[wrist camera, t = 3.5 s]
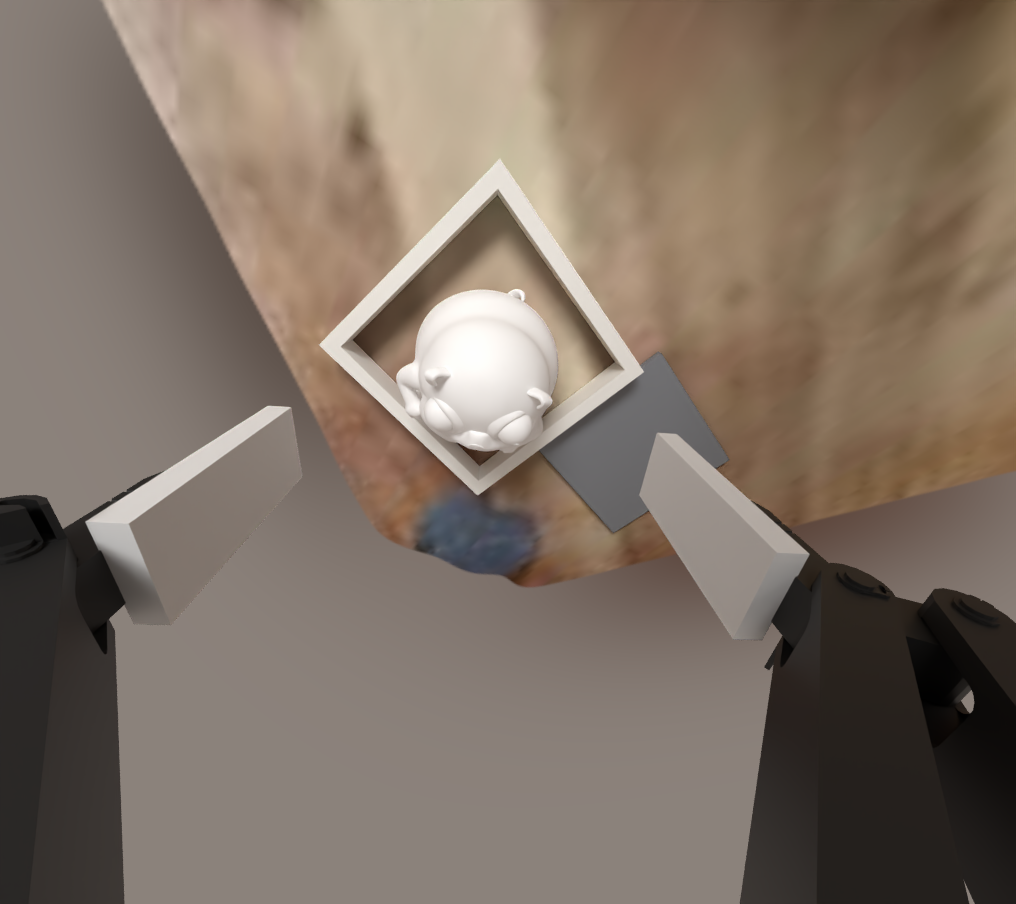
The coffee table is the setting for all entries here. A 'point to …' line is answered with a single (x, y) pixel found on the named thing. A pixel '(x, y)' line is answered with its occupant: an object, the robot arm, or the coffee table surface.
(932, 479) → the coffee table surface
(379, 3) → the coffee table surface
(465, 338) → the figurine
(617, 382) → the bin frame
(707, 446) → the coaster pad
